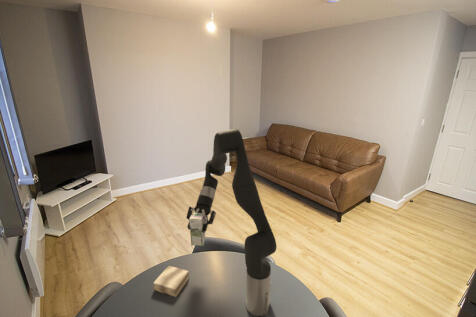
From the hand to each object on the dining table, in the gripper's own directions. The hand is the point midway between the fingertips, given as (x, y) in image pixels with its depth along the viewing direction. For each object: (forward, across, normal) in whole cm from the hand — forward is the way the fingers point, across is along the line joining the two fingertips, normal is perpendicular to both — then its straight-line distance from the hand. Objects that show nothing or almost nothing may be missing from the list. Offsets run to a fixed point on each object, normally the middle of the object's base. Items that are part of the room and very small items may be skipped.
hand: (196, 230), depth 106 cm
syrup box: (+4, 0, +7) cm, 8 cm away
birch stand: (+24, -7, +8) cm, 26 cm away
